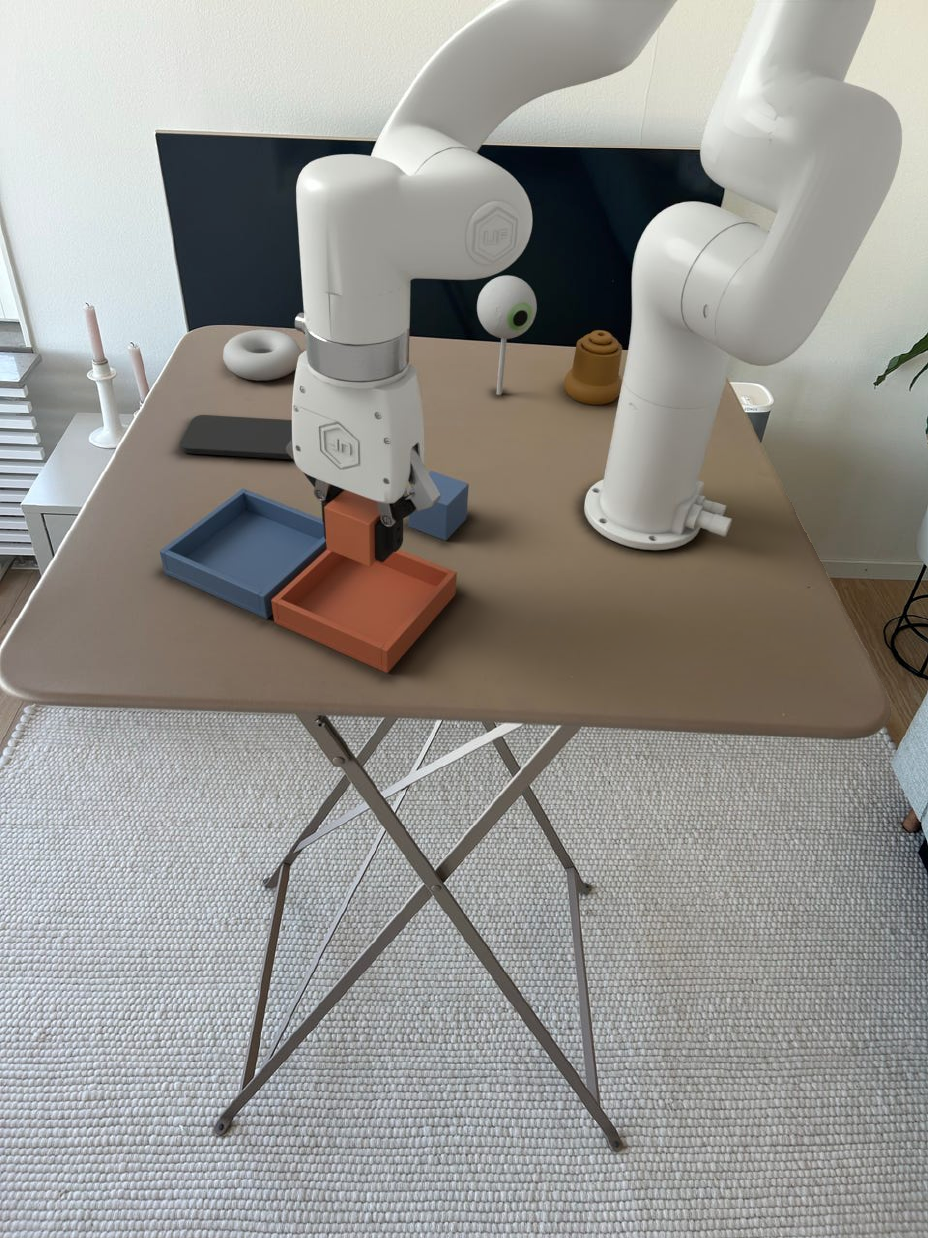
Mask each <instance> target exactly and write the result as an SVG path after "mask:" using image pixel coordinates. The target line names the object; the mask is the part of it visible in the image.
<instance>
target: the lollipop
mask: <svg viewBox="0 0 928 1238" xmlns="http://www.w3.org/2000/svg"><path fill="white" fill-rule="evenodd" d="M476 302H477V303H476V312H477V317H478V320H479V322H480V324H481V325H482V327H483V328H484V330H485V331H486V332H487V333H488V334H490V335H492V336H494V337H496V338H498V339H500V346H499V347H500V348H499V350H500V351H499V359H498V360H499V361H498V372H497V385H496V395H497V396H501V395H502V394H503V384H504V372H505V364H506V363H505V361H506V351H507V340H509V339H514V338H517V337H519V336H521V335H523V334H524V333H526V332H527V331H528V330H529V328H530V327H531V326H532V324H533V323H534V320H535V318H536V314H537V310H538V308H537V307H538V306H537V305H538V304H537V299H536V295H535V293H534V291H533V289H532V288H531V286H530V285H529V284H528V283H527V282H526V280H525V281H524V280H523V279H522V278H519V277H517V276H515V275H500V276H497V277H494V278H493V279H491V280H490V281H489V282H487V283H486V284H485V285H484V286H483V288H482V289H481V291H480V292H479V294H478V298H477V301H476Z"/></svg>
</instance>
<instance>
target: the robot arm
mask: <svg viewBox="0 0 928 1238" xmlns="http://www.w3.org/2000/svg"><path fill="white" fill-rule="evenodd" d="M677 2H678V0H494V1H492V2H491V3H490V4H489V5H487V7H485V8H484V9H483V10H482V11H481V12H479V13H478V14H477V15H476V16H475V17H473V18H472V19H471V20H469V21H468V22H467V23H466V24H464V25H463V26H462V27H461V28H459V29H458V30H457V31H456V32H455V33H454V34H453V35H451V36H450V37H449V38H448V39H447V40H446V41H445V42H444V43H442V45H441V46H440V47H439V48H438V49H437V50H435V52H434V53H433V54H432V55H431V57H430V58H429V59H428V60H427V61H426V62H425V64H424V65H423V66H422V68H421V69H420V70H419V72H418V73H417V75H416V76H415V77H414V79H413V80H412V82H411V83H410V85H409V86H408V88H407V90H405V93H403V95H402V97H401V98H400V100H399V102H398V104H397V105H396V107H395V108H394V110H393V111H392V113H391V115H390V116H389V118H388V119H387V121H386V122H385V124H384V126H383V128H382V130H381V132H380V134H379V135H378V137H377V139H376V142H375V144H374V146H373V149H372V152H371V154H370V155H367V154H357V153H356V154H354V153H348V154H346V153H345V154H344V153H343V154H333V155H332V154H331V155H328V156H323V157H320V158H319V157H318V158H316V159H314V160H311V161H310V162H309V163H308V164H306V165H305V166H304V167H303V168H302V170H301V171H300V173H299V175H298V178H297V181H296V187H295V190H296V191H295V193H296V194H295V196H296V197H295V198H296V199H295V200H296V213H297V214H296V215H297V228H298V229H297V231H298V244H299V260H300V273H301V274H300V275H301V290H302V305H303V312H299V313H297V315H296V317H295V319H294V328H295V330H296V331H298V332H301V333H303V335H304V336H305V348H306V350H304V351H303V352H301V354H300V355H299V358H298V362H297V368H296V369H295V373H294V381H293V388H292V402H291V420H292V440H291V441H290V442H289V444H288V445H287V446H286V452H287V453H288V454H289V455H290V457H291V458H292V459H291V460H293V461H294V463H295V465H296V467H297V468H298V469H299V470H300V471H301V472H302V473H303V474H304V476H305V477H306V479H307V480H308V481H309V482H310V484H311V485H312V486H313V488H314V489H313V495H314V497H315V498H316V499H317V500H318V501H320V502H321V503H320V504H321V519H322V521H323V524H324V538H325V540H326V527H325V510H324V507H325V506H326V505H327V504H329V503H330V502H331V501H332V500H333V499H334V498H336V497H337V496H338V495H339V494H340V493H342V492H343V491H344V490H347V491H350V492H353V493H355V494H358V495H361V496H363V497H366V498H369V499H371V500H374V501H376V503H377V507H378V511H379V515H380V520H379V521H378V522H377V523H376V525H375V558H376V560H377V561H380V562H382V563H383V562H384V561H385V560H386V559H387V558H388V557H389V556H390V555H391V554H392V553H393V552H396V551H398V550H401V548H402V545H403V544H404V543H403V542H404V519H405V518H407V517H409V515H410V514H412V513H413V512H416V511H421V510H424V509H427V508H430V507H432V506H433V505H434V504H435V503H436V502H437V501H438V500H439V499H440V498H441V495H440V493H439V491H438V489H437V488H436V486H435V484H434V482H433V480H432V479H431V477H430V475H429V471H428V469H427V468H426V466H425V455H426V454H425V446H426V445H425V424H424V411H423V401H422V395H421V389H420V383H419V378H418V375H417V370H416V367H415V366H414V365H411V364H410V333H411V331H410V328H411V327H410V326H411V324H410V323H411V281H412V280H415V279H423V280H424V279H426V280H427V279H428V280H452V281H453V280H454V281H469V280H472V281H473V280H479V279H486V278H489V277H492V276H494V275H497V274H500V273H501V272H503V271H505V270H506V269H508V268H509V267H510V266H511V265H512V264H514V263H515V262H516V261H517V260H518V259H519V258H520V256H521V255H522V254H523V252H524V250H525V249H526V247H527V245H528V243H529V241H530V237H531V233H532V229H533V211H532V206H531V202H530V199H529V196H528V194H527V193H526V191H525V189H524V188H523V186H522V185H521V184H520V182H518V180H517V179H516V177H514V175H512V174H511V173H510V172H509V171H507V170H506V169H505V168H503V167H502V166H500V165H499V164H497V163H495V162H493V161H492V160H490V159H488V158H486V157H484V156H482V155H480V154H479V153H478V152H479V150H480V148H481V147H482V146H483V144H484V143H485V142H486V140H487V139H488V138H489V136H490V135H491V134H492V133H493V132H494V131H495V130H496V129H497V128H498V127H499V126H500V125H501V123H503V122H504V121H505V120H507V118H508V117H509V116H510V115H512V114H513V113H515V112H516V111H518V110H519V109H520V108H521V107H523V106H525V105H527V104H529V103H530V102H532V101H533V100H537V99H538V98H540V97H542V96H544V95H547V94H550V93H553V92H556V91H559V90H562V89H567V88H571V87H576V86H579V85H583V84H587V83H590V82H593V81H596V80H600V79H603V78H606V77H609V76H611V75H614V74H616V73H618V72H621V71H623V70H624V69H626V68H627V67H630V66H631V65H632V64H633V63H634V62H635V61H636V59H638V57H639V56H640V55H641V53H642V52H643V50H644V49H645V48H646V46H647V44H648V43H649V41H650V40H651V38H653V36H654V34H655V33H656V32H657V30H658V29H659V28H660V26H661V24H663V22H664V20H665V18H666V17H667V16H668V14H669V13H670V11H671V10H672V8H673V7H675V5H676V3H677ZM754 2H755V3H754V5H753V8H752V11H751V13H750V15H749V18H748V21H747V23H746V26H745V28H744V30H743V33H742V36H741V38H740V41H739V43H738V45H737V47H736V50H735V53H734V56H733V57H732V60H731V62H730V64H729V67H728V70H727V72H726V74H725V77H724V79H723V82H722V84H721V86H720V89H719V92H718V94H717V95H716V99H715V101H714V103H713V106H712V108H711V111H710V114H709V116H708V119H707V121H706V124H705V128H704V130H703V134H702V137H701V138H702V139H701V142H700V148H699V149H700V150H699V156H700V163H701V167H702V168H703V170H704V172H705V174H706V175H707V177H709V178H710V179H711V180H712V181H713V182H714V183H715V184H717V185H718V186H720V187H722V188H723V189H725V190H727V191H729V192H731V193H732V194H735V195H737V196H739V197H741V198H743V199H745V200H747V201H749V202H751V203H754V204H756V205H757V206H760V207H762V208H765V209H766V210H768V211H771V212H773V213H775V217H774V220H773V223H772V226H771V228H770V230H767V229H765V228H763V227H762V226H760V225H758V224H757V223H754V222H753V221H751V220H748V219H746V218H744V217H742V216H740V215H738V214H736V213H734V212H732V211H729V210H727V209H725V208H723V207H720V206H718V205H714V204H712V203H708V202H702V201H683V202H680V203H675V204H673V205H671V206H668V207H666V208H665V209H663V210H662V211H661V212H659V213H657V214H656V216H655V217H653V218H652V220H651V221H650V222H649V223H648V224H647V225H646V227H645V229H644V231H643V232H642V234H641V236H640V238H639V240H638V242H637V246H636V249H635V252H634V257H633V262H632V270H631V324H630V325H631V327H630V334H629V341H628V342H629V344H628V349H627V356H626V361H625V367H624V371H623V372H624V373H623V376H622V379H621V380H622V386H621V391H620V395H619V396H618V397H619V398H618V402H617V406H616V412H615V417H614V423H613V429H612V433H611V438H610V444H609V450H608V455H607V460H606V465H605V471H604V475H603V479H601V480H599V481H597V482H595V483H594V484H593V485H592V486H591V487H590V488H589V489H588V491H587V492H586V495H585V498H584V505H583V511H584V516H585V518H586V519H587V521H588V523H589V524H590V525H591V527H593V529H594V530H596V531H597V532H598V533H600V534H601V536H604V537H605V538H607V539H608V540H610V541H611V542H612V541H613V542H614V543H617V544H620V545H622V546H626V547H630V548H632V549H638V550H645V551H648V550H649V551H664V550H669V549H675V548H678V547H681V546H683V545H686V544H687V543H689V542H691V541H692V540H694V538H695V537H696V536H698V533H699V532H700V529H704V530H706V531H708V532H710V533H712V534H716V535H719V536H721V537H724V538H725V537H726V536H727V534H728V532H729V530H730V527H731V524H732V520H733V519H732V518H730V517H727V516H724V514H725V512H726V509H727V505H725V504H722V503H719V502H716V501H711V500H709V499H706V496H705V495H702V491H703V488H704V485H705V482H704V481H701V480H699V478H700V475H701V472H702V467H703V465H704V460H705V458H706V457H705V456H706V453H707V450H708V446H709V443H710V439H711V435H712V432H713V428H714V424H715V420H716V417H717V414H718V410H719V406H720V403H721V400H722V396H723V393H724V390H725V386H726V382H727V378H728V373H729V363H730V362H729V361H730V356H732V357H733V358H735V359H737V360H739V361H741V362H743V363H746V364H749V365H752V366H757V367H767V366H773V365H776V364H779V363H780V362H781V363H782V361H785V360H786V359H788V358H789V357H791V356H792V355H793V354H795V352H797V351H798V350H799V349H800V348H801V346H802V345H803V344H804V343H805V342H806V341H807V340H808V338H809V337H810V336H811V334H812V333H813V331H814V330H815V328H816V327H817V326H818V324H819V322H820V320H821V319H822V318H823V315H824V313H825V312H826V310H827V308H828V306H829V305H830V303H831V301H832V299H833V297H834V295H835V293H836V292H837V290H838V288H839V286H840V284H841V282H842V281H843V278H844V277H845V275H846V273H847V271H848V270H849V268H850V267H851V264H852V262H853V260H854V258H855V257H856V254H857V252H858V251H859V249H860V247H861V245H862V244H863V241H864V240H865V238H866V236H867V234H868V232H869V231H870V228H871V227H872V225H873V223H874V221H875V219H876V217H877V216H878V213H879V212H880V210H881V208H882V206H883V204H884V203H885V202H884V201H885V200H886V197H887V195H888V194H889V192H890V189H891V187H892V186H893V185H892V184H893V182H894V180H895V178H896V174H897V170H898V167H899V164H900V158H901V152H902V144H903V130H902V123H901V120H900V117H899V114H898V113H897V110H896V109H895V108H894V105H893V104H891V103H890V101H889V100H887V99H886V98H885V97H884V96H882V95H880V94H878V93H877V92H874V91H872V90H870V89H867V88H864V87H862V86H858V85H855V84H852V83H848V82H845V79H846V76H847V74H848V71H849V69H850V66H851V64H852V62H853V59H854V57H855V55H856V53H857V50H858V49H859V45H860V43H861V41H862V39H863V36H864V34H865V32H866V30H867V27H868V25H869V23H870V20H871V17H872V15H873V12H874V9H875V5H876V2H877V0H755V1H754ZM408 483H409V485H410V487H411V489H412V488H413V490H414V492H413V493H411V494H409V493H408V490H407V489H408V488H407V486H408ZM393 503H394V504H393Z"/></svg>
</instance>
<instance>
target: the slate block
mask: <svg viewBox="0 0 928 1238" xmlns="http://www.w3.org/2000/svg"><path fill="white" fill-rule="evenodd" d="M428 473H429V475H430V477H431V479H432V480H433V482H434V484H435V486H436V488H437V489H438V491H439V493H440V495H441V498H440V499H439V500H438V501H437V502H436V503H435V504H434V505H433V506H432V507H430V508H427V509H424V510H421V511H416V512H413V513H412V514H410V515H409V516H408V527H409V528H411V529H414V530H416V531H418V532H421V533H424V534H427V535H429V536H432V537H435V538H437V539H439V540H443V541H444V542H446V541H447V540H448V539H449V538H450V537H451V536H452V535H453V534H454V533H455V532H456V531H457V529H459V527H461V525H462V524H464V522H465V521H466V520H467V518H468V517H467V516H468V503H469V502H468V500H469V489H470V488H469V487H470V485H469V483H468V482H466V481H462V480H459V479H457V478H454V477H452V476H448V475H445V474H444V473H443V474H442V473H439V472H437V471H434V470H430V471H428ZM413 492H414V490H413V488H412V487H411V489H409V491H408V495H409V494H411V493H413Z"/></svg>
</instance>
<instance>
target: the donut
mask: <svg viewBox="0 0 928 1238" xmlns="http://www.w3.org/2000/svg"><path fill="white" fill-rule="evenodd" d="M301 353H302V350H301V347H300V345H299V344H298V342H297V341H296V339H294V338H293V337H292V336H290V335H288V334H287V333H285V332H281V331H278V330H271V329H255V330H254V329H253V330H249V331H245V332H241V333H238V334H237V335H235V336H233V337H232V338H230V339H229V341H228V342H227V343H226V344H225V345H224V348H223V353H222V360H223V363H224V364H225V366H226V368H227V369H228V370H229V371H230V372H232V373H233V374H234V375H235V376H237V377H238V378H239V377H240V378H243V379H245V380H250V381H273V380H278V379H280V378H281V379H282V378H284V377H286V376H288V375H290V374H292V373H293V372H294V371H296V368H297V362H298V358H299V355H300V354H301Z"/></svg>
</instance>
